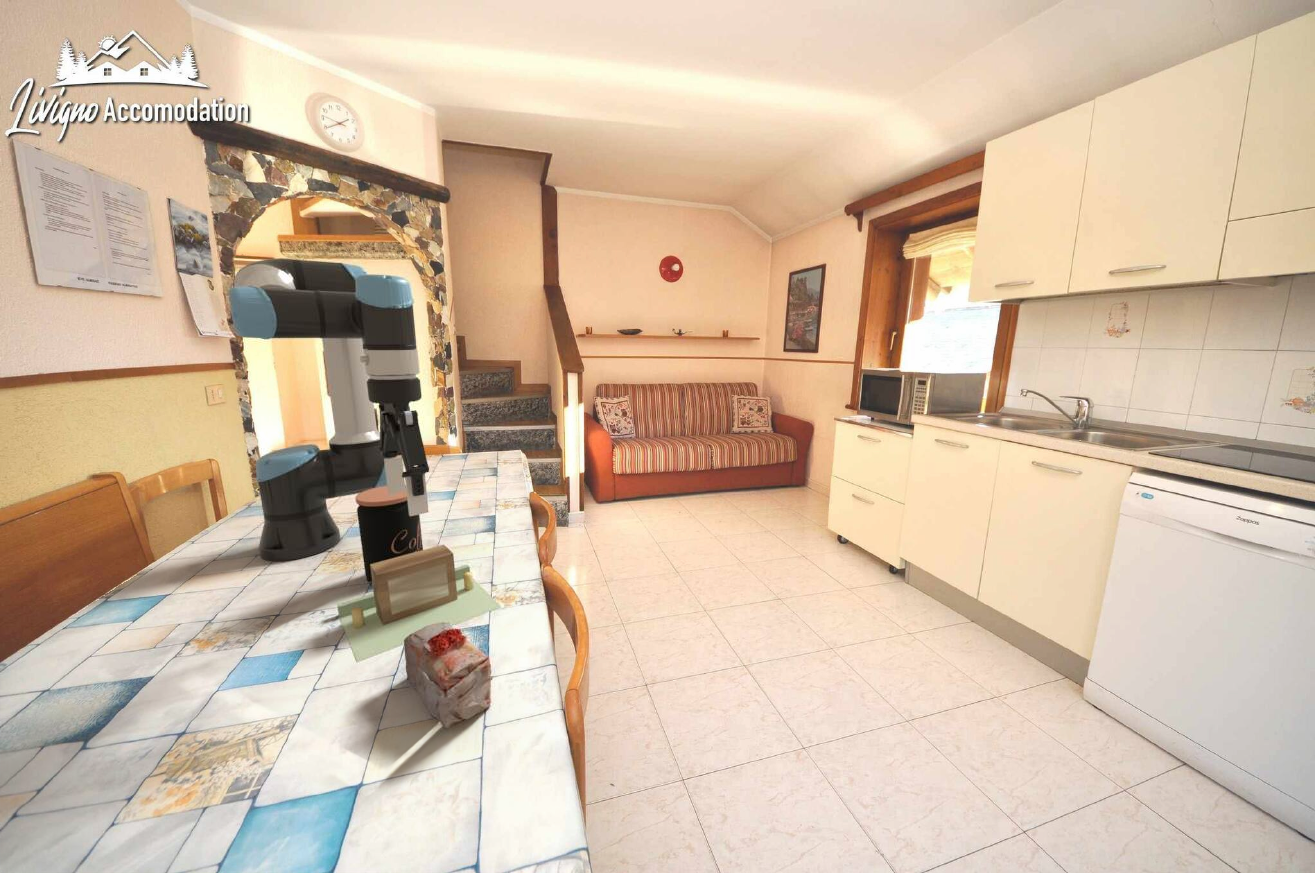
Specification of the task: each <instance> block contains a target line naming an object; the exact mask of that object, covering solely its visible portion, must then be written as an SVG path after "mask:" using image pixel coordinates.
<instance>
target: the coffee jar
mask: <svg viewBox="0 0 1315 873" xmlns="http://www.w3.org/2000/svg"><path fill="white" fill-rule="evenodd" d="M405 490H406V484H405ZM354 497H355V503H356V504H357V505H358V507H357V508H356V513H357V522H358V528H359V535H360V543H361V544H360V545H361V550H362V551H361V552H362V558H363V566H364V574H365V580H366V581H367V582H368V583H372V575H371V568H370V564H373V563H377V562H381V561H385V560H388V559H392V558H396V557H399V556H403V555H407V554H410V553H414V552H418V551H421V550H424V545H423V537H422V536H423V535H422V528H421V527H422V526H421V516H420V515H421V514H419V515H414V516H409V511H408V502H407V492H401V493H395V494H390V495H389V494H388V489H387V486H383V487H377V488H373V489H369V490H366V491H364V492H361V493H358V494H356V495H355V496H354Z"/></svg>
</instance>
